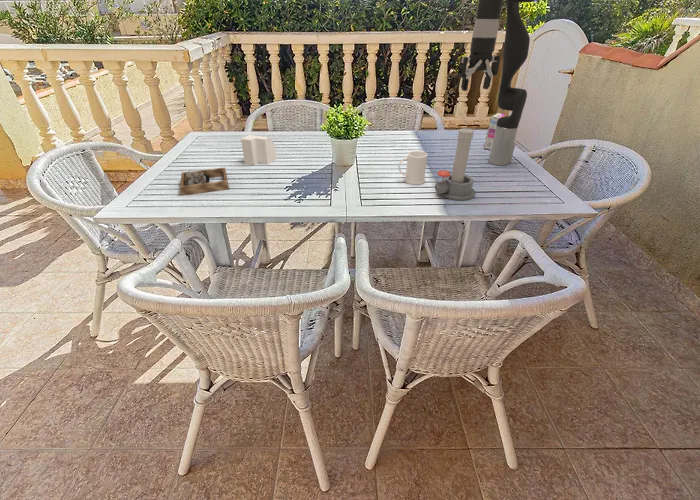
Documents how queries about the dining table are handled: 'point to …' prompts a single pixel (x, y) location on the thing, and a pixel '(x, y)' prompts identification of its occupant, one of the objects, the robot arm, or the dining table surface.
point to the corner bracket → (258, 150)
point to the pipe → (461, 154)
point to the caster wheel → (196, 178)
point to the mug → (415, 167)
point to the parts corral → (205, 186)
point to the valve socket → (455, 187)
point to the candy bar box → (492, 130)
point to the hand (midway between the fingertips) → (474, 89)
